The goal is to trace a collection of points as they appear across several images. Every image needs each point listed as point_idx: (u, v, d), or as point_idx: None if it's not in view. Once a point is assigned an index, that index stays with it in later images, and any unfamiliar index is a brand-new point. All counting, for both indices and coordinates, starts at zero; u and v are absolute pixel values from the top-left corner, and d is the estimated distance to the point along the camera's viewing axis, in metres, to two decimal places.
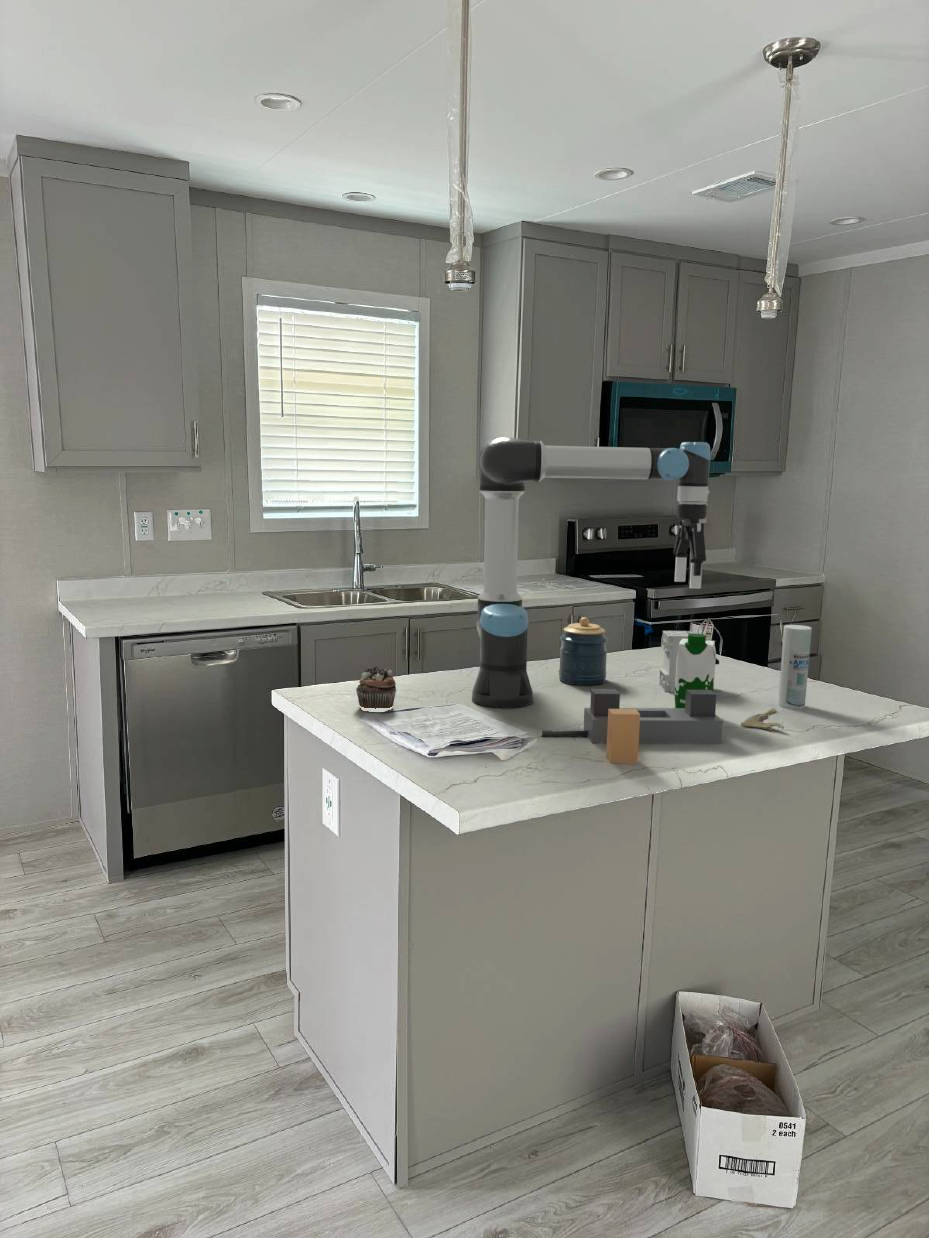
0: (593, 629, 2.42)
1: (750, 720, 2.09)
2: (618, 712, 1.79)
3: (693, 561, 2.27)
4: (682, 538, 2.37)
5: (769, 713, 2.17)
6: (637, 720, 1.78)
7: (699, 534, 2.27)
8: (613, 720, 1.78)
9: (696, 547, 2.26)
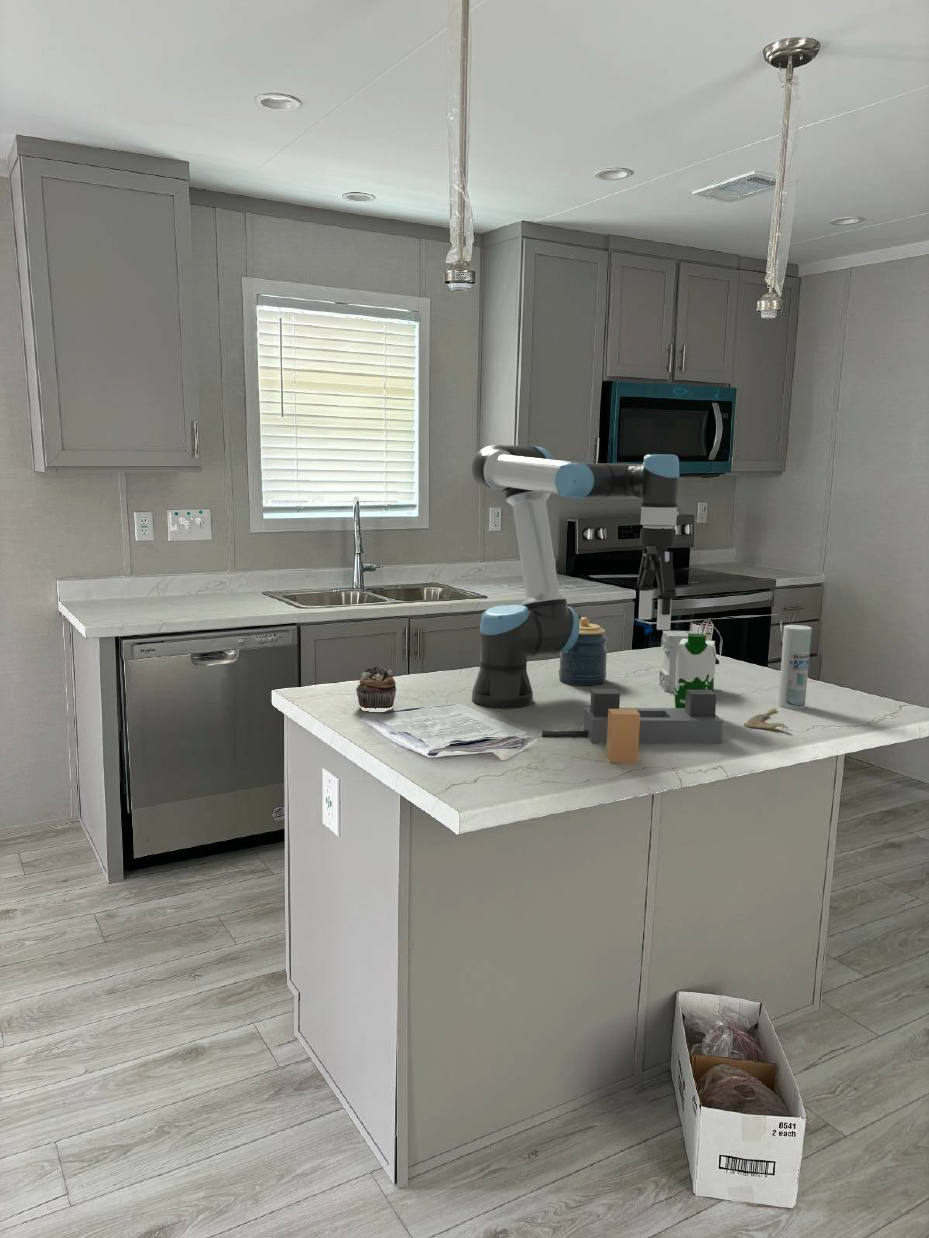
0: (593, 629, 2.42)
1: (753, 721, 2.08)
2: (618, 712, 1.79)
3: (661, 597, 1.89)
4: (647, 568, 1.99)
5: (770, 713, 2.17)
6: (637, 720, 1.78)
7: (668, 565, 1.89)
8: (613, 720, 1.78)
9: (664, 581, 1.88)
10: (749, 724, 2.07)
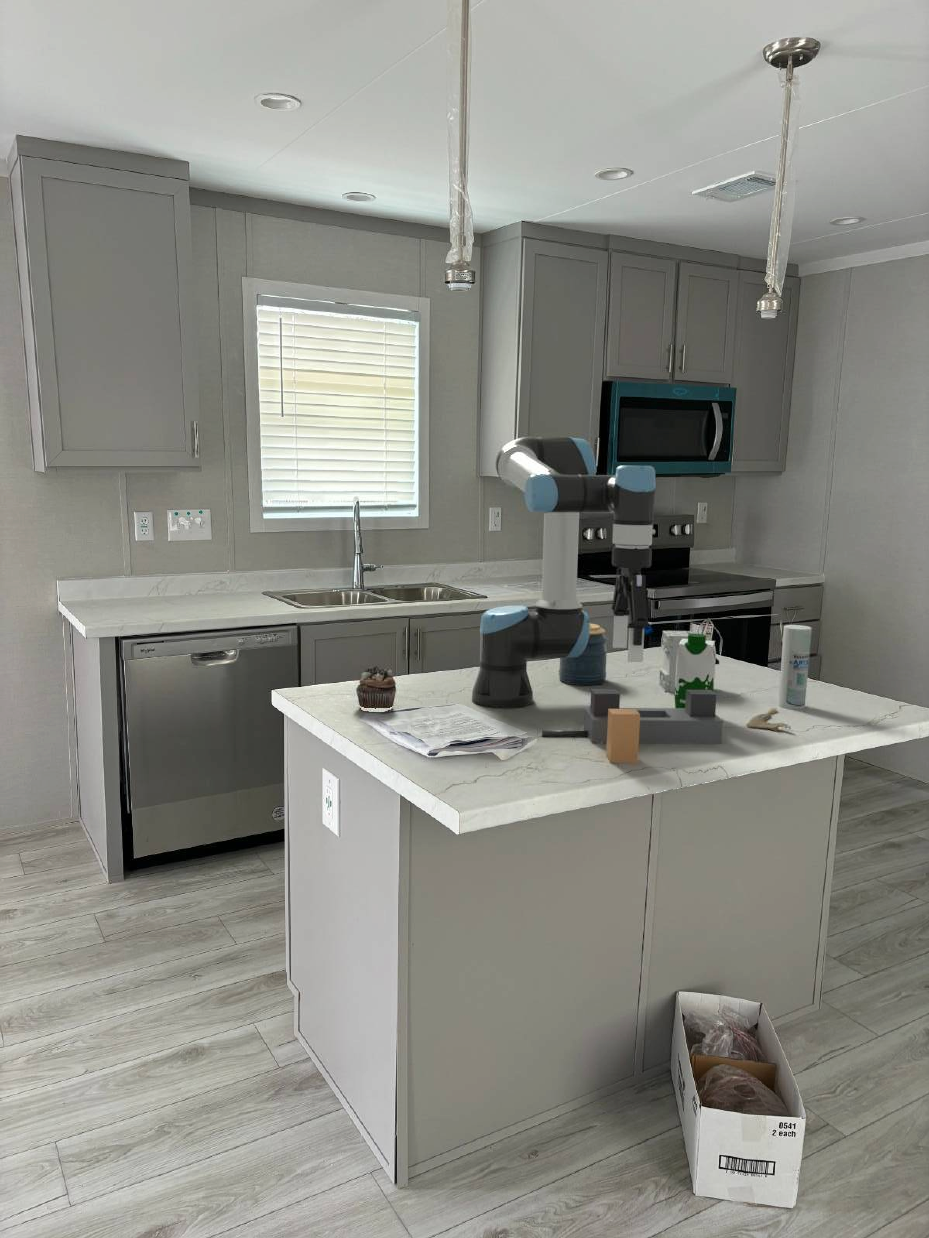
0: (593, 629, 2.42)
1: (755, 721, 2.08)
2: (618, 712, 1.79)
3: (631, 626, 1.68)
4: (620, 592, 1.79)
5: (771, 713, 2.17)
6: (637, 720, 1.78)
7: (640, 590, 1.68)
8: (613, 720, 1.78)
9: (635, 608, 1.67)
10: (751, 724, 2.06)
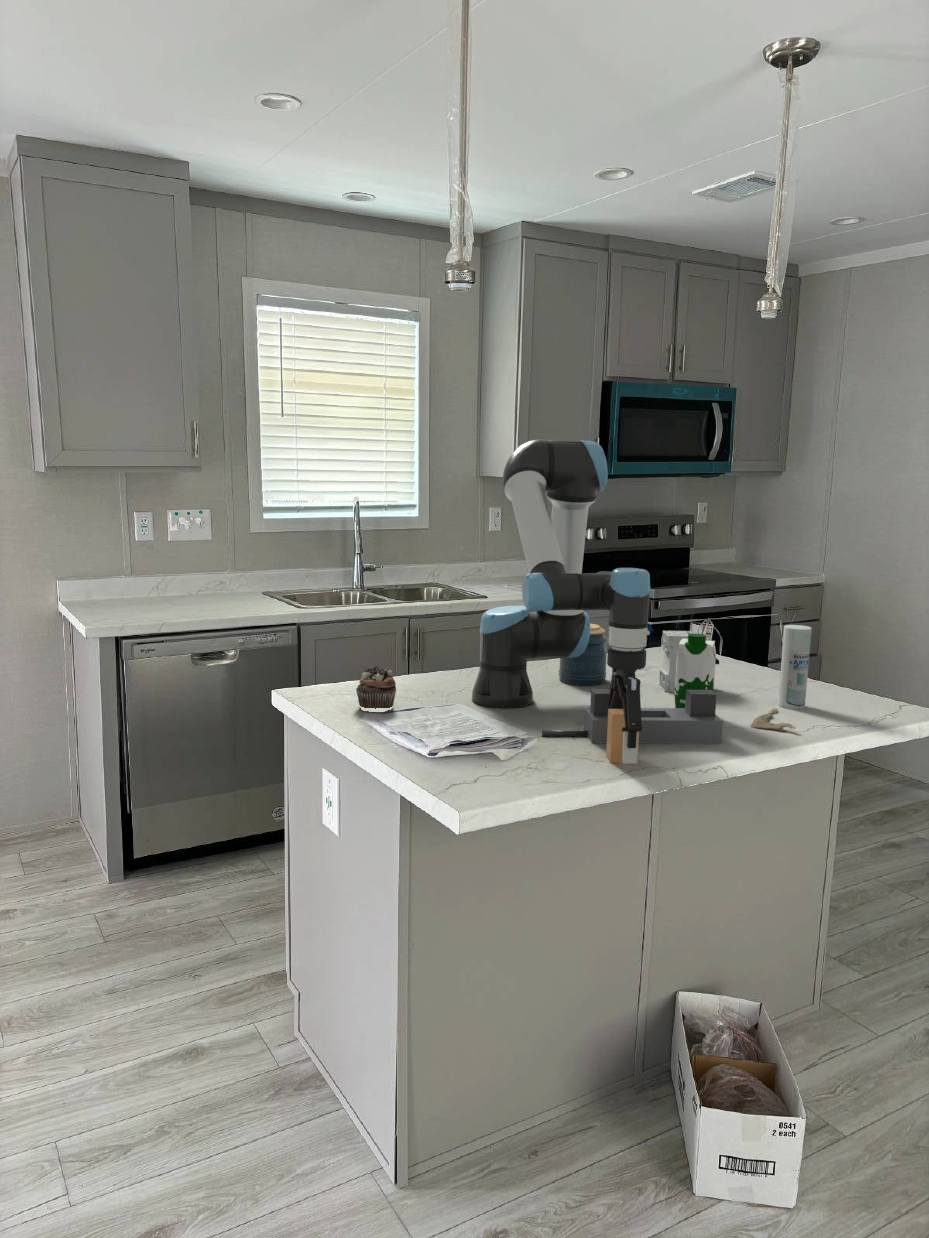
0: (593, 629, 2.42)
1: (759, 721, 2.08)
2: (618, 712, 1.79)
3: (626, 730, 1.72)
4: (616, 690, 1.82)
5: (772, 713, 2.17)
6: None
7: (634, 695, 1.72)
8: (613, 720, 1.78)
9: (629, 712, 1.71)
10: (756, 725, 2.06)
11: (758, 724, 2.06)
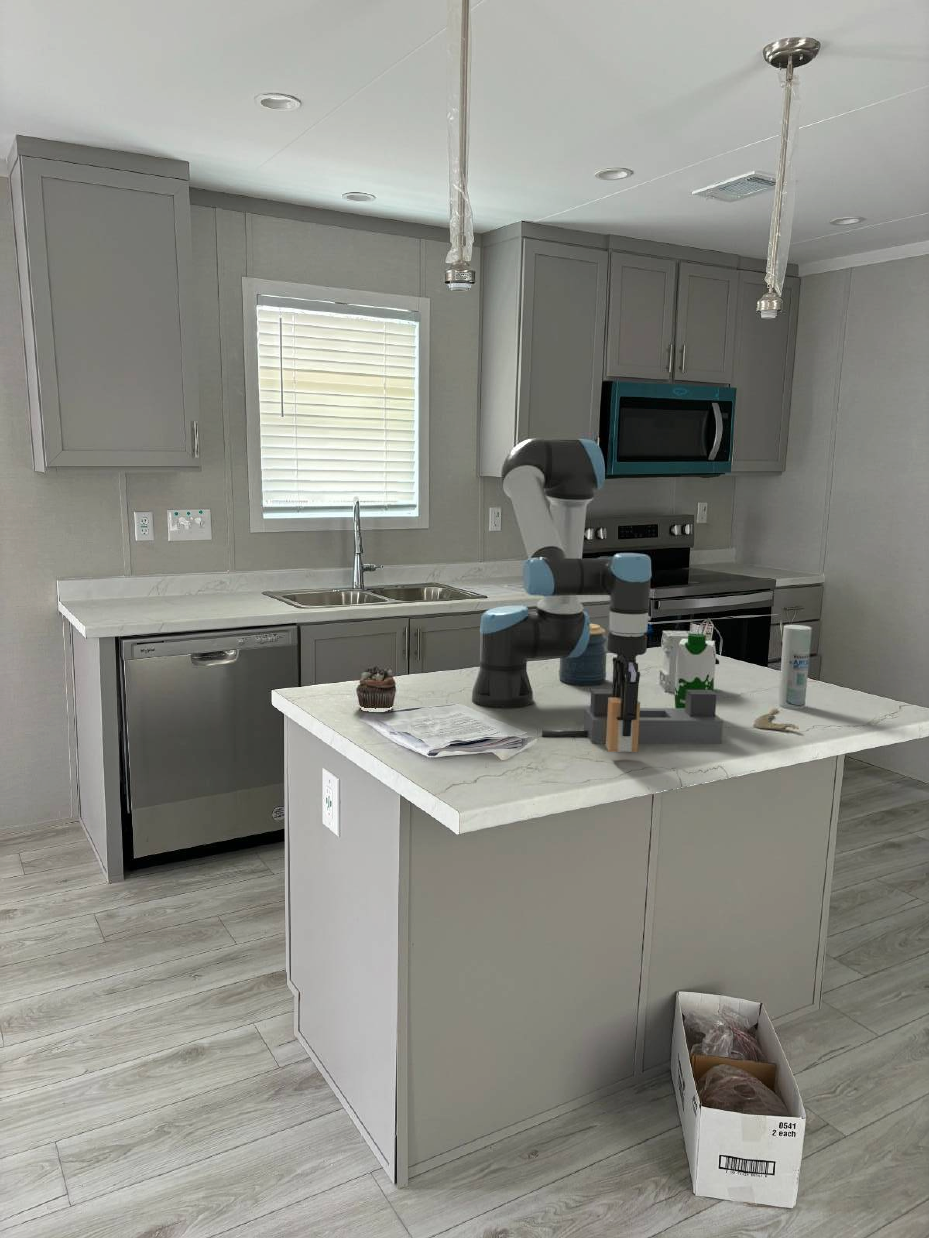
0: (593, 629, 2.42)
1: (761, 721, 2.08)
2: (618, 701, 1.79)
3: (620, 719, 1.76)
4: (618, 679, 1.80)
5: (773, 713, 2.17)
6: (637, 709, 1.78)
7: (632, 687, 1.73)
8: (613, 709, 1.78)
9: (626, 703, 1.74)
10: (758, 725, 2.06)
11: (761, 724, 2.06)
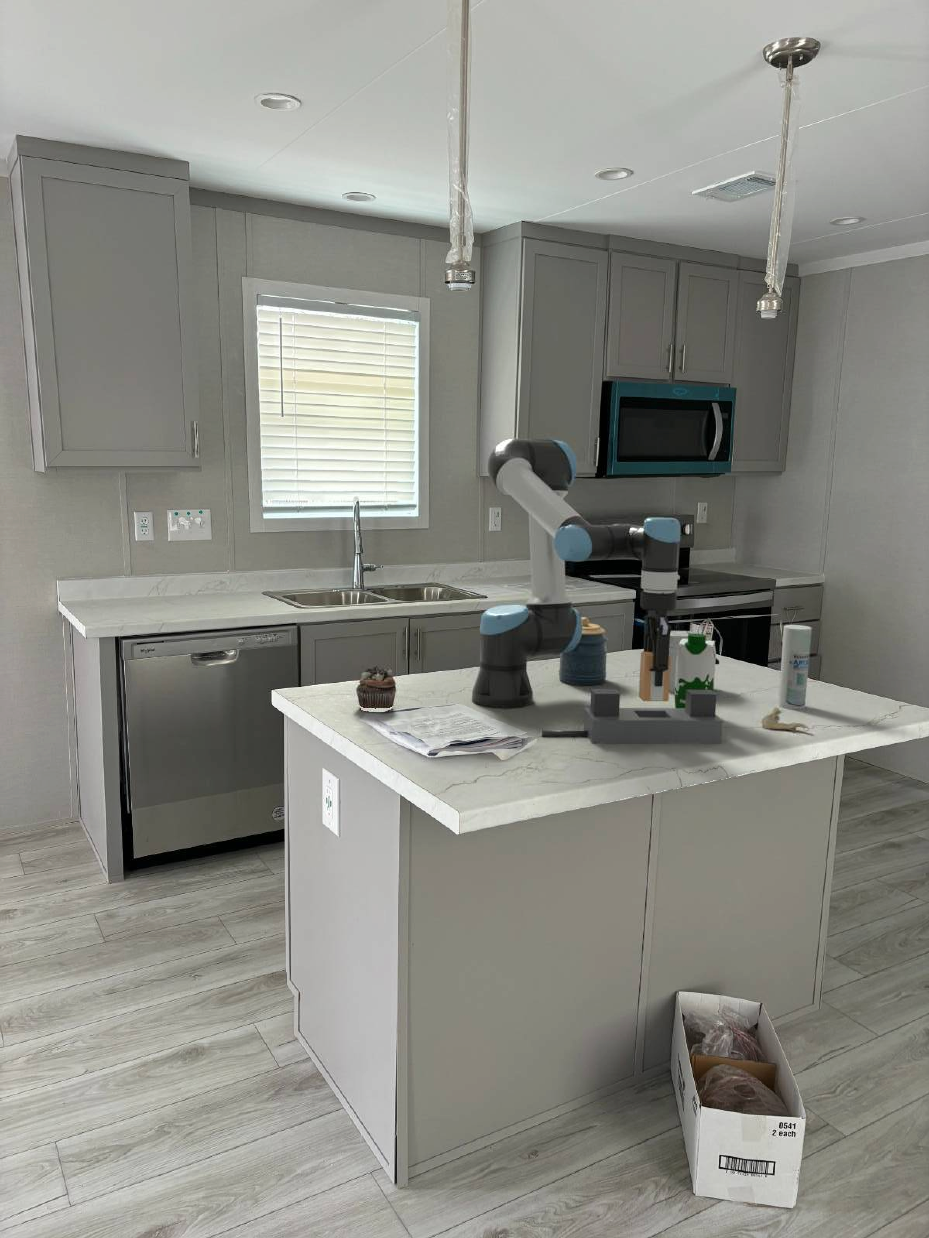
0: (593, 629, 2.42)
1: (769, 722, 2.07)
2: (650, 654, 1.94)
3: (653, 670, 1.91)
4: (649, 634, 1.95)
5: (776, 713, 2.17)
6: (668, 661, 1.93)
7: (664, 639, 1.88)
8: (646, 661, 1.92)
9: (658, 655, 1.88)
10: (768, 726, 2.05)
11: (770, 725, 2.06)
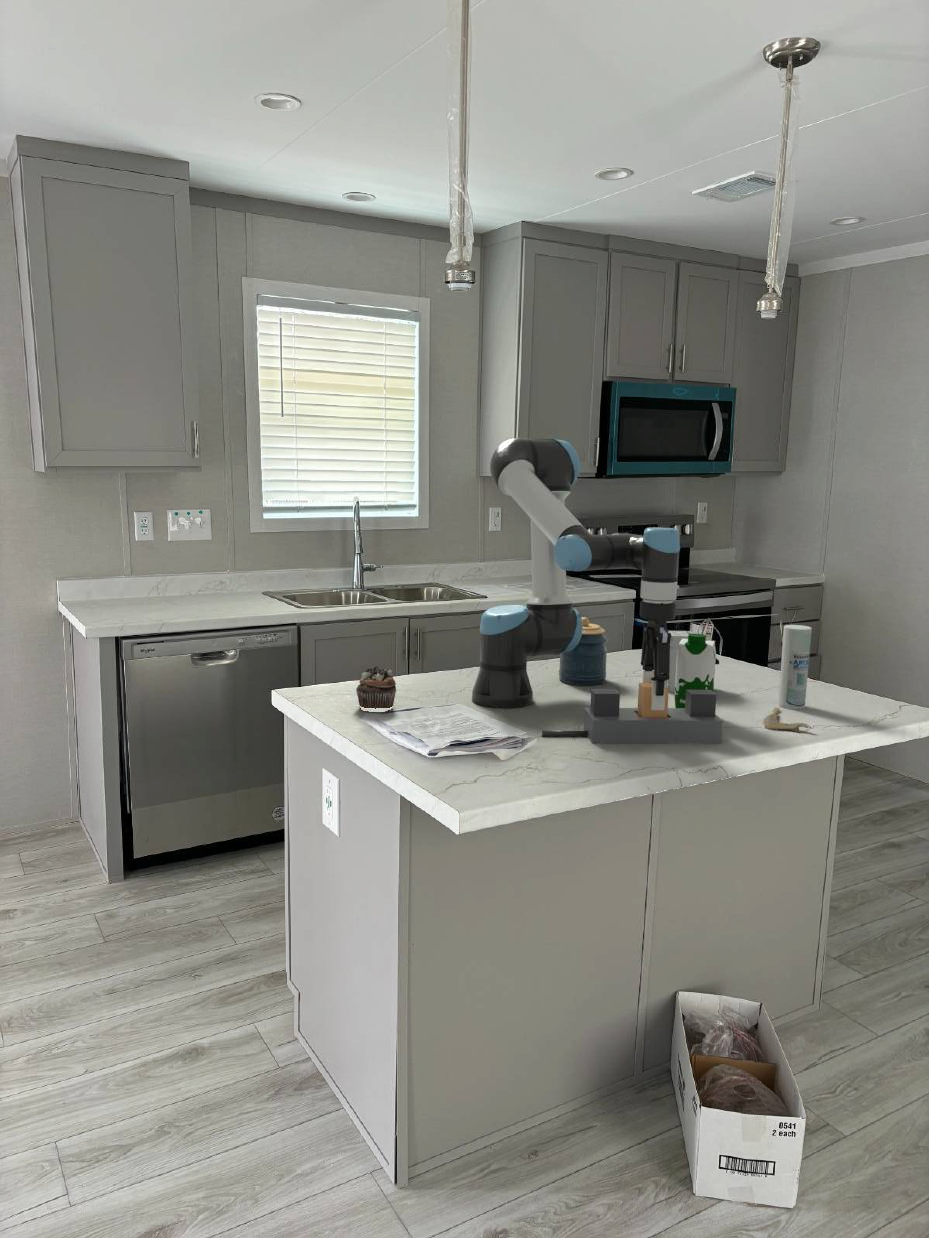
0: (593, 629, 2.42)
1: (772, 722, 2.07)
2: (648, 685, 1.95)
3: (654, 679, 1.90)
4: (648, 643, 1.96)
5: (777, 713, 2.17)
6: (666, 692, 1.94)
7: (664, 647, 1.88)
8: (644, 693, 1.94)
9: (659, 663, 1.88)
10: (770, 726, 2.05)
11: (772, 725, 2.06)
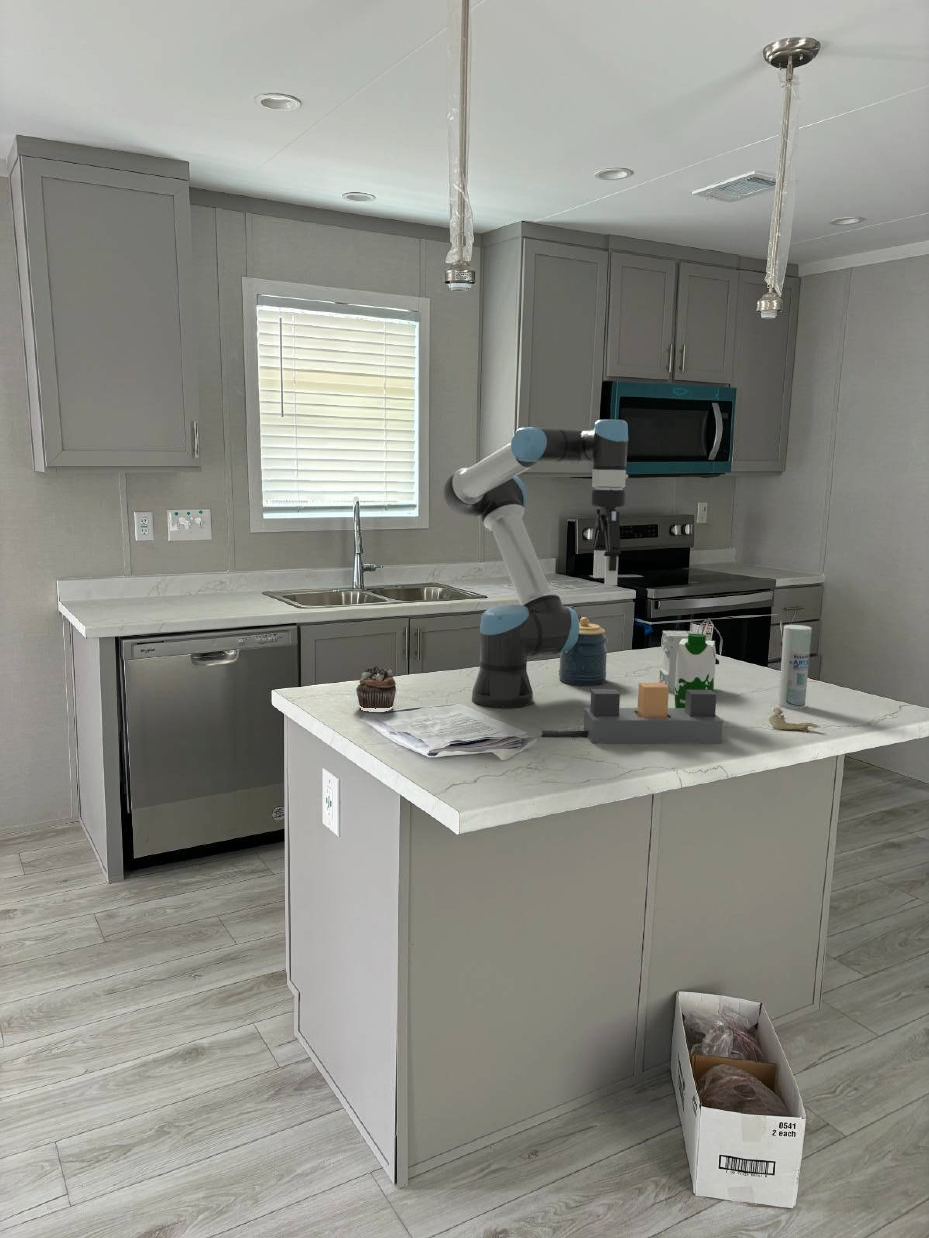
0: (593, 629, 2.42)
1: (779, 722, 2.07)
2: (648, 685, 1.95)
3: (607, 554, 2.00)
4: (599, 529, 2.10)
5: (779, 713, 2.18)
6: (666, 692, 1.94)
7: (614, 524, 2.00)
8: (644, 693, 1.94)
9: (610, 538, 1.99)
10: (778, 726, 2.05)
11: (780, 725, 2.06)
